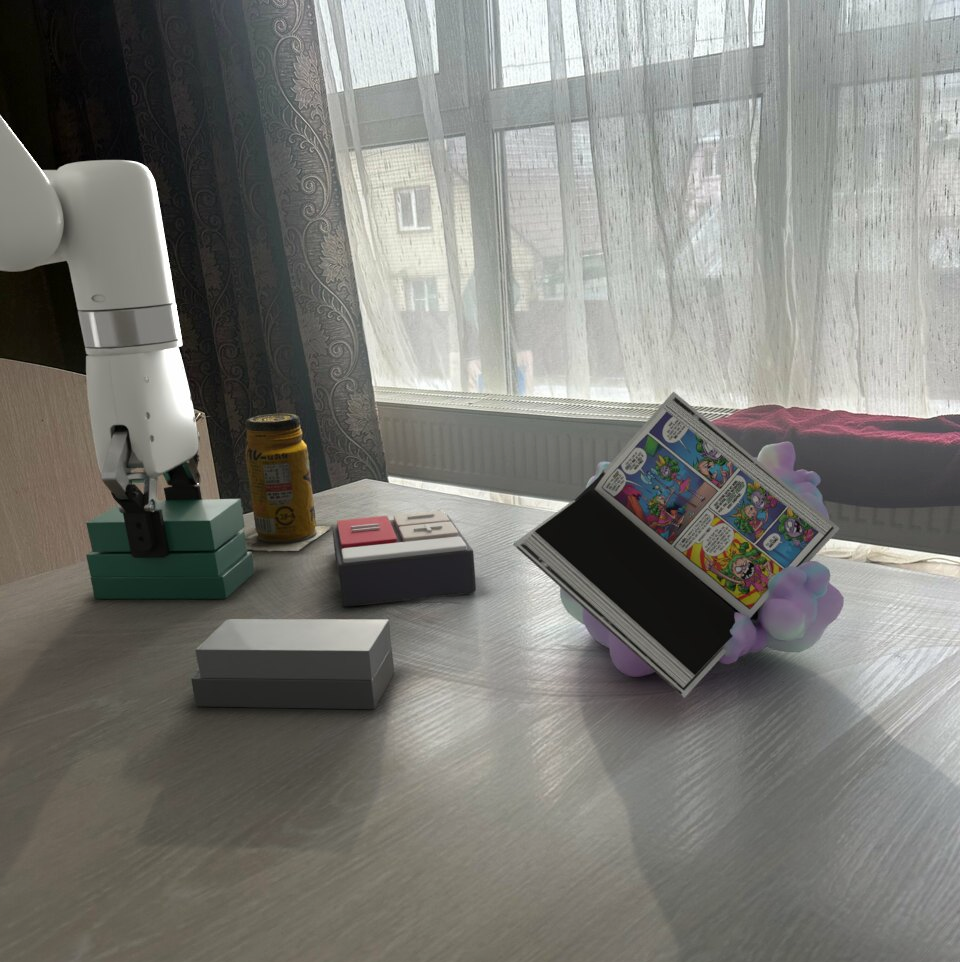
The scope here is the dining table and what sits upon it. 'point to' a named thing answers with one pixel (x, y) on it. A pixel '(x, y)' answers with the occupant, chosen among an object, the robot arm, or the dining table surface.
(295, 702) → the grey books
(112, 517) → the slim green book
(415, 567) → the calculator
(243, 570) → the green books
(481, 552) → the dining table surface
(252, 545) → the condiment
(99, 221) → the robot arm
